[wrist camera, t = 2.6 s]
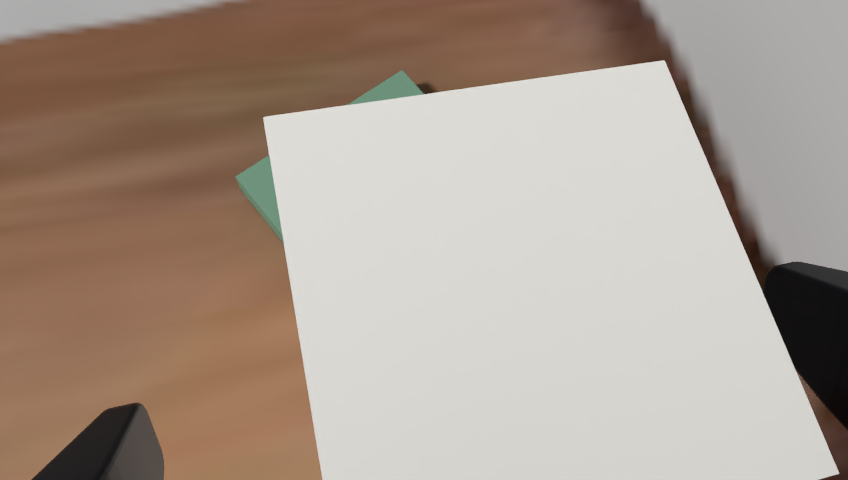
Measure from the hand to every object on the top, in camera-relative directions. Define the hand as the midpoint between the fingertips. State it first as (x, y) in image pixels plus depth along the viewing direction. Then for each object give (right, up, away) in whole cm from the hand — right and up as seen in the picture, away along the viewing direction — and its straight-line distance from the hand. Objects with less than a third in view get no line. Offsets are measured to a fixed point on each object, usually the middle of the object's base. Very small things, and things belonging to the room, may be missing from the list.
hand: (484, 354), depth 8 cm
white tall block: (-1, -3, +9) cm, 9 cm away
